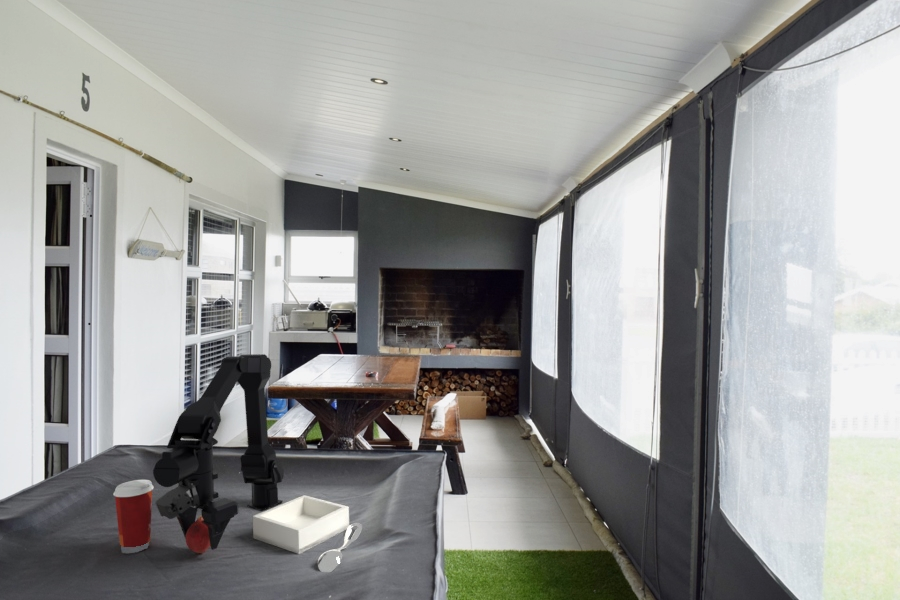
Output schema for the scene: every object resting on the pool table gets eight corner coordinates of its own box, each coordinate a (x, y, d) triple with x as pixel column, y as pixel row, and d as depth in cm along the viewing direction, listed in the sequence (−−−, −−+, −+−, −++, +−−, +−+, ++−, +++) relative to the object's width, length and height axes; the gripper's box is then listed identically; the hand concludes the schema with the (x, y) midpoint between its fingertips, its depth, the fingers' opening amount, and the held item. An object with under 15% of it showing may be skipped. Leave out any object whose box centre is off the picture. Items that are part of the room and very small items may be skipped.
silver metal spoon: (346, 513, 129) (366, 514, 129) (347, 528, 130) (367, 529, 129) (313, 559, 110) (336, 560, 109) (314, 577, 110) (337, 578, 109)
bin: (253, 538, 126) (252, 516, 126) (304, 515, 138) (304, 495, 138) (299, 554, 117) (298, 530, 117) (349, 528, 130) (348, 506, 130)
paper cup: (163, 542, 124) (161, 480, 124) (133, 558, 117) (131, 492, 117) (136, 538, 127) (134, 477, 127) (106, 553, 120) (103, 488, 120)
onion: (204, 561, 115) (203, 522, 115) (179, 559, 117) (178, 520, 116) (221, 548, 121) (220, 511, 121) (197, 546, 122) (196, 510, 122)
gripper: (136, 474, 117) (139, 548, 117) (188, 490, 107) (190, 571, 107) (187, 460, 126) (189, 529, 127) (238, 473, 116) (241, 548, 116)
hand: (200, 543), depth 119 cm, fingers open, 9 cm apart
